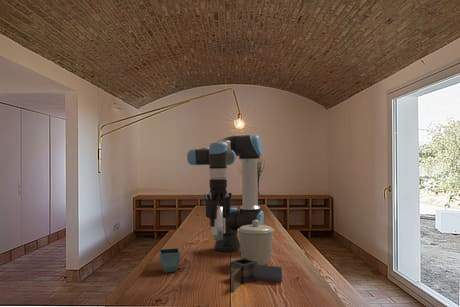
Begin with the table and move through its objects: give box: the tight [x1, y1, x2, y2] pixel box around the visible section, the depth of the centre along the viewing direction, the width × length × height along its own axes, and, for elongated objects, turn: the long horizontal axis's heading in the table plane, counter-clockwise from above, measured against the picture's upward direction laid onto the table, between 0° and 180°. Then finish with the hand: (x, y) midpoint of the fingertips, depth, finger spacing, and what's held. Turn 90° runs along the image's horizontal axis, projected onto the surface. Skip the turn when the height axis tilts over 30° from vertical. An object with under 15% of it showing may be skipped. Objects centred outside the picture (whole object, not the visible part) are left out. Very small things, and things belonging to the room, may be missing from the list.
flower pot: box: [158, 247, 181, 273], centre depth 158 cm, size 9×9×9 cm
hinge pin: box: [213, 205, 223, 241], centre depth 149 cm, size 4×4×14 cm
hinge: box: [230, 257, 283, 292], centre depth 141 cm, size 22×18×7 cm
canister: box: [237, 220, 275, 266], centre depth 169 cm, size 18×18×21 cm
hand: (218, 233), depth 149 cm, fingers closed on hinge pin, 4 cm apart
